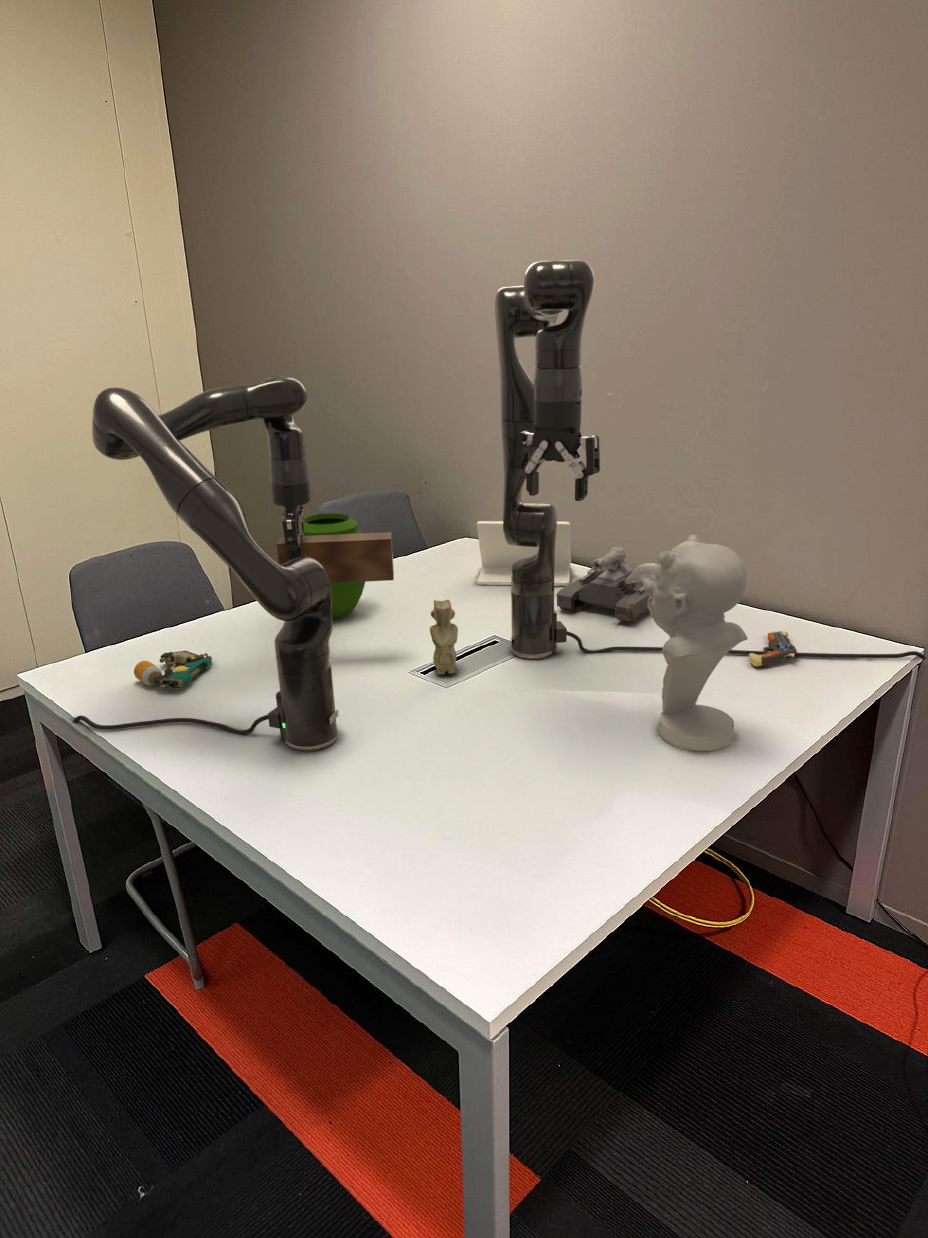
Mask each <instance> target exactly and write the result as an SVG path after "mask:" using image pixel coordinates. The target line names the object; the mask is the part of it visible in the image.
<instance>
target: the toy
mask: <svg viewBox="0 0 928 1238" xmlns="http://www.w3.org/2000/svg"><path fill="white" fill-rule="evenodd" d="M626 557H627V556H626V551H625V549H624V548H622V547H621V546H614V547H612V548H611V549H610V550H609V552H608V553H607V554H605V555H604V556H601V557H599V558H598V559H597V557H596V558H594V559H593V560H592V561H590V562H589V563H590V564H591V565H592V567H591V568H590V569H589V570H587V573H586V575H584V576H582V577H580V578H578V579H577V580H575V581H573V582H570V583H569V585H567V586H563V587H562V588H560V589H559V590H558V591H557V592H556V607H558V608H559V609H560V610H562V611H566V612H572V613H575V612H577V611H579V610H581V609H582V608H585V607H586V606H588V605H592V606H598V607H602V608H603V607H604V608H609V609H613V610H614V618H615V619H617V620H618V621H621V622H626V623H631V624H634V623H635V622H637V621H638V620H640V619H641V618H642V617H644V616H645V615H647V614H648V613H650V611H649V609H648V606H647V601H648V599H649V596H648V595H647V594H646V592H645V589H644V583H642V582H635V583H630V584H626V583H625V580H626V579H627V577H628V576H629V575H630V574H631V573H632V572H633V570H634V569H635V568H636V567H637V566H635V565H629V564H628V563H627V562H626V561H625V559H626Z"/></svg>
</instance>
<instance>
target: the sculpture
mask: <svg viewBox="0 0 928 1238" xmlns="http://www.w3.org/2000/svg"><path fill="white" fill-rule="evenodd" d="M455 615H456V611H455V609H453V608H452V602H451V601H450V599H445V600H433V610H431V612H430V617H431V618H432V619H433V620H434V621H435V622H436V623H435V624H433V625H431V626H429V633H430V636H431V640H432V641H431V642H432V643H433V645H434V648H435V649H434V652H433V656H432V657H433V659H432V660H433V665H434V667H435V668H436V671H437V674H438V675H445V674H446V672H447V673H448V674H455V673H456V666H457V665H456V663H457V652H456V649H455V644H456V643H457V642H458V637H459V635H458V634H459V627H458V626H457V624H455V623H453V622H451V621H452V620H453V619H454V618H455Z"/></svg>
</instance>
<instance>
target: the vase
mask: <svg viewBox="0 0 928 1238" xmlns="http://www.w3.org/2000/svg"><path fill="white" fill-rule="evenodd" d="M358 524H359V523H358V521H356V520H355V519H353V518H352V517H350V516H349V515H347V514H344V513H335V512H334V513H333V512H331V513H320V514H313V515H310V516H307V517H304V529H305V531H304V533H303V534H304V536H315V535H337V534H359V533H363V532H362V531H361V530H360V529H359V527H358ZM365 586H366V582H347V583H330V587H331V598H332V620H336V619H341V618H345V617H347V616H349V615H350V614H351V613H352V612H353V611H354V610H355V608H356V607H357V605H358V604H359V601H360V599H361V597H362V595H363V592H364V588H365Z"/></svg>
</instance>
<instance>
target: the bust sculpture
mask: <svg viewBox="0 0 928 1238" xmlns="http://www.w3.org/2000/svg"><path fill="white" fill-rule="evenodd" d="M658 561H659V564H657V563H653V562H650V563H647V562H646V563H642V564H640V565H637V566H636V568H635V569H634V570H633V572H632V573H631V574H630V575H629V576H628V577H627V579H626V580H625V583H626V584H630V583H635V582H642V583H644V589H645V592H646V594H647V595H648V596H649V599H648V601H647V606H648V609H649V611H650V612H649V613H650V615H651V617H652V619H653V621H654V623H655V624H656V626H658V627H659V628H660V629H661V630H662V631H663V632H664V633H665V634H666V635H668V636H669V639H668V640H666V642H664V644H663V646H662V647H663V649H662V651H661V652H662V655H663V658H664V660H665V663H666V664H667V666H666V668H665V672H664V674H663V678H662V688H661V700H662V705H661V706H662V709H661V710H662V712H661V713H660V714H659V715H660V716H659V726H658V727H659V728H658V733H659V735H660V737H661V738H662V739H663V740H664V741H666V742H667V743H669V744H670V745H673V746H675V747H677V748H681V749H683V750H684V749H685V750H690V751H697V752H711V751H716V750H721V749H723V748H725V747H726V748H727V746H729V745H730V744H731V743H732V742H733V740H734V734H735V720H734V719H733V717H732V716H730V715H729V714H728V713H726V712H725V711H724V710H721V709H719V708H716V707H713V706H709V705H705V704H698V703H697V701H698V700H699V697H700V695H701V693H702V691H703V688H705V686H706V683H707V682H708V680H709V678H710V676H711V675H712V673H713V672H714V670H715V669H716V667H717V666H718V665H719V664H720V662H721V661H722V659H723V658H725V656H726V655H727V653H728V652H729V651H730V650H733V649H734V648H735V647H736V646H737V645H739V644H740V643H742V642H744V641H747V640H749V637H748V636H747V634H746V632H745V631H744V630H743V628H742V627H741V626H740V625H739V624H737V623H735V622H731V621H726V620H725V618H726V616H725V613H727V612H729V611H731V610H733V608H735V607H736V606H737V605H738V604H739V603H740V602H741V600H742V599H743V596H744V594H745V591H746V587H747V569H746V566H745V564H744V562H743V560H742V558H741V556H739V554H737V552H735V550H733V549H732V548H730V547H728V546H726V545H722V544H717V543H707V542H706V543H705V542H701V540H700V537H699V536H698V535H696V534H690V535H689V536H688V538H687V540H686V541H682V542H681V543H679V544H678V545H675V547H673V548H672V549H671V550H670V551H667V550H664V551H661V552H660V554H659V555H658Z"/></svg>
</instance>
